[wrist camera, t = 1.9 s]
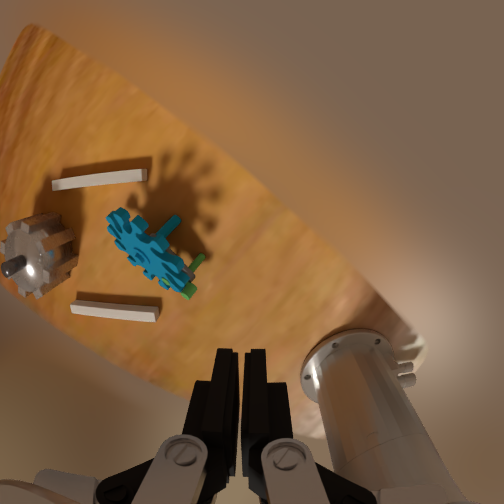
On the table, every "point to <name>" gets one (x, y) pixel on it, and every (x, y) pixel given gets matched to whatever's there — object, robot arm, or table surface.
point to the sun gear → (38, 253)
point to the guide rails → (99, 307)
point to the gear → (153, 251)
